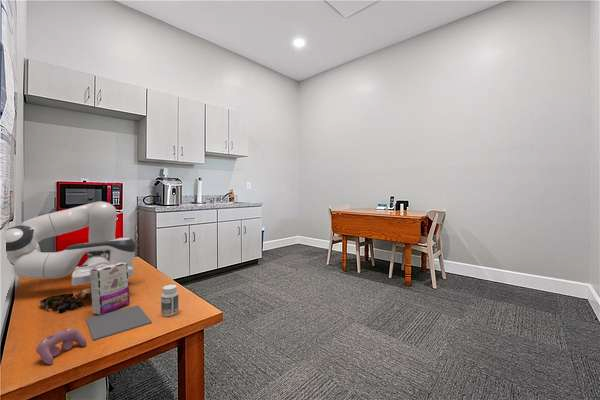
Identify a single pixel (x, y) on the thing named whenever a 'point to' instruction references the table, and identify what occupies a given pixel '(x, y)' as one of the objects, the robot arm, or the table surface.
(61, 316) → the table surface
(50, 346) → the video game controller
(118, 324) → the mat
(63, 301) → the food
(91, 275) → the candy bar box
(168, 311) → the pill bottle
